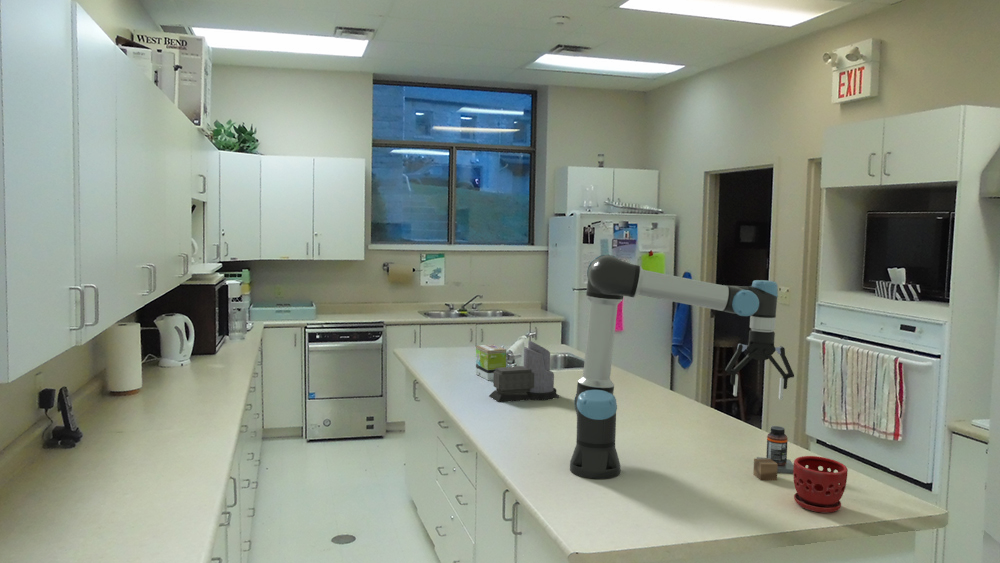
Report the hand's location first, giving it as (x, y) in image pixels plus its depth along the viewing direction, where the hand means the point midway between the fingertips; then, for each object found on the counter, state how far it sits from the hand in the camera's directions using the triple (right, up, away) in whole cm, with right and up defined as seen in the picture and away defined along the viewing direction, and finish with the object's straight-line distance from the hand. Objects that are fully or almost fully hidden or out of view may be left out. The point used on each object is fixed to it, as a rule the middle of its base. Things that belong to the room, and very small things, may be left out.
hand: (757, 397), depth 227 cm
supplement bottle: (+5, -20, -2) cm, 21 cm away
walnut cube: (-2, -22, -12) cm, 25 cm away
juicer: (-70, -14, +84) cm, 110 cm away
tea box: (-85, -10, +124) cm, 151 cm away
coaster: (+5, -21, -2) cm, 22 cm away
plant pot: (+4, -24, -34) cm, 42 cm away
